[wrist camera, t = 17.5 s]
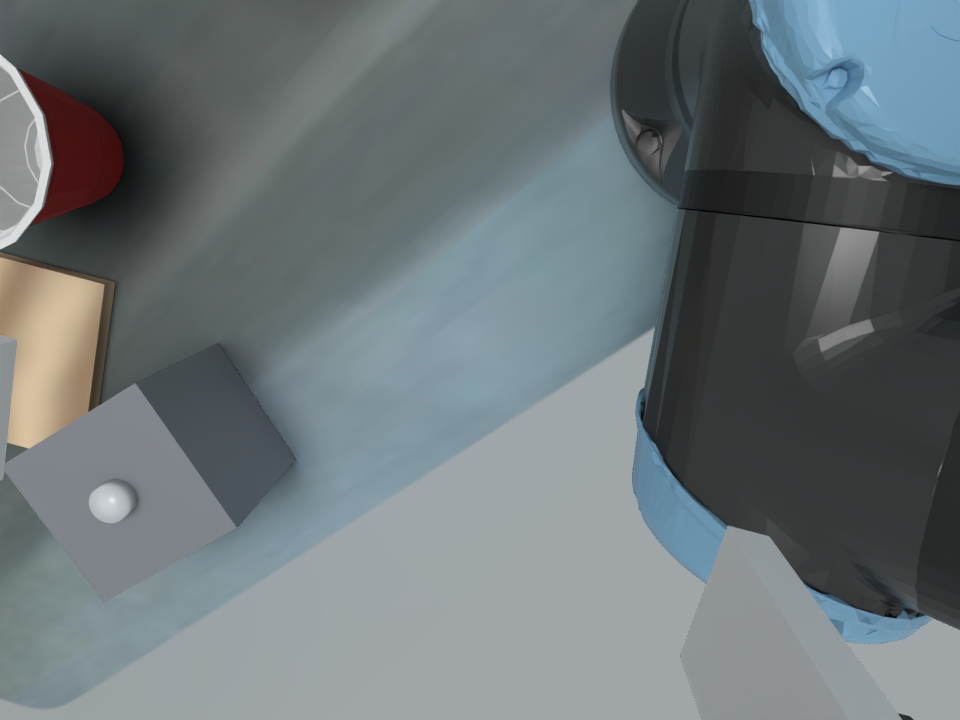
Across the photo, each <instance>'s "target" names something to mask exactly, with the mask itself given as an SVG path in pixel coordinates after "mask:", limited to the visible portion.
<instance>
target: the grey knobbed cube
mask: <svg viewBox="0 0 960 720" xmlns="http://www.w3.org/2000/svg"><path fill="white" fill-rule="evenodd" d="M295 460H296V458H295V457H294V455H293V454H292V452H291V451H290V449H289V448H288V446H287V445H286V443H285V442H284V440H283V439H282V437H281V436H280V434H279V433H278V431H277V430H276V428H275V427H274V425H273V424H272V422H271V421H270V419H269V418H268V417H267V415H266V414H265V412H264V411H263V409H262V408H261V406H260V405H259V403H258V402H257V400H256V399H255V397H254V396H253V394H252V393H251V391H250V390H249V388H248V387H247V385H246V384H245V382H244V381H243V379H242V378H241V376H240V375H239V373H238V372H237V370H236V369H235V367H234V366H233V364H232V363H231V361H230V360H229V358H228V357H227V355H226V354H225V352H224V351H223V349H222V348H221V346H220V345H219V344H216V345H214V346H212V347H209V348H207V349H205V350H203V351H201V352H199V353H197V354H195V355H193V356H191V357H189V358H186V359H184V360H182V361H180V362H178V363H176V364H174V365H172V366H170V367H168V368H166V369H164V370H161V371H159V372H157V373H155V374H153V375H151V376H149V377H147V378H145V379H143V380H141V381H139V382H136V383H135V384H133V385H131V386H130V387H128V388H126V389H125V390H123V391H122V392H120V393H118V394H117V395H115V396H114V397H112V398H110V399H109V400H107V401H105V402H104V403H102V404H101V405H99V406H97V407H96V408H94V409H92V410H91V411H89V412H88V413H86V414H84V415H83V416H81V417H80V418H78V419H76V420H75V421H73V422H71V423H70V424H68V425H67V426H65V427H63V428H62V429H60V430H59V431H57V432H55V433H54V434H52V435H50V436H49V437H47V438H46V439H44V440H42V441H41V442H39V443H37V444H36V445H34V446H33V447H31V448H29V449H28V450H26V451H25V452H23V453H21V454H20V455H18V456H16V457H15V458H13V459H12V460H10V461H8V462H7V463H5V467H4V471H5V472H6V474H7V475H8V476H9V478H10V479H11V480H12V482H13V483H14V484H15V486H16V487H17V488H18V490H19V491H20V492H21V493H22V495H23V496H24V497H25V499H26V500H27V501H28V503H29V504H30V505H31V507H32V508H33V509H34V511H35V512H36V513H37V515H38V516H39V517H40V519H41V520H42V521H43V523H44V524H45V525H46V527H47V528H48V529H49V531H50V532H51V533H52V535H53V536H54V537H55V539H56V540H57V541H58V543H59V544H60V545H61V547H62V548H63V549H64V551H65V552H66V553H67V554H68V556H69V557H70V558H71V560H72V561H73V562H74V564H75V565H76V566H77V568H78V569H79V570H80V572H81V573H82V574H83V576H84V577H85V578H86V580H87V581H88V582H89V584H90V585H91V586H92V588H93V589H94V590H95V592H96V593H97V594H98V596H99V597H100V598H101V600H102V601H103V602H105V601H107V600H109V599H111V598H112V597H114V596H116V595H118V594H120V593H121V592H123V591H125V590H127V589H128V588H130V587H132V586H134V585H136V584H137V583H139V582H141V581H143V580H145V579H146V578H148V577H150V576H152V575H154V574H155V573H157V572H159V571H161V570H162V569H164V568H166V567H168V566H170V565H171V564H173V563H175V562H177V561H179V560H180V559H182V558H184V557H186V556H188V555H189V554H191V553H193V552H195V551H196V550H198V549H200V548H202V547H204V546H205V545H207V544H209V543H211V542H213V541H214V540H216V539H218V538H220V537H222V536H223V535H225V534H227V533H229V532H230V531H232V530H234V529H236V528H237V527H238V526H239V525H240V524H241V523H242V521H243V520H244V519H245V518H246V517H247V516H248V514H249V513H250V512H251V511H252V510H253V509H254V508H255V506H256V505H257V504H258V503H259V502H260V501H261V499H262V498H263V497H264V496H265V495H266V494H267V493H268V491H269V490H270V489H271V488H272V487H273V486H274V484H275V483H276V482H277V481H278V480H279V479H280V478H281V476H282V475H283V474H284V473H285V472H286V471H287V469H288V468H289V467H290V466H291V465H292V464H293V462H294V461H295Z"/></svg>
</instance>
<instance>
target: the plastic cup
mask: <svg viewBox="0 0 960 720" xmlns="http://www.w3.org/2000/svg"><path fill="white" fill-rule="evenodd" d="M123 167H124V155H123V148H122V143H121V141H120V139H119V137H118V135H117V133H116V131H115V129H114V128H113V126H112V125H111V124H110V123H109V122H108V121H107V120H105V119H104V118H103V117H102V116H101V115H100V114H99V113H98V112H97V111H95V110H94V109H93V108H91V107H89V106H87V105H85V104H83V103H81V102H79V101H77V100H75V99H73V98H72V97H71V96H70V95H69V94H67V93H65V92H63V91H61V90H59V89H57V88H55V87H53V86H51V85H49V84H47V83H45V82H43V81H41V80H39V79H37V78H35V77H33V76H31V75H29V74H27V73H25V72H24V71H22V70H20V69H18V68H16V67H14V66H13V65H12V64H11V63H10V62H9V61H8V60H6V59H5V58H4V57H3V56H2V55H1V54H0V249H2V248H4V247H6V246H8V245H10V244H12V243H14V242H16V241H17V240H18V239H19V238H20V237H21V236H22V234H23V233H24V232H25V230H26V229H27V228H28V227H29V226H31V225H34V224H37V223H40V222H43V221H45V220H48V219H51V218H54V217H57V216H60V215H63V214H66V213H68V212H70V211H72V210H74V209H77V208H80V207H83V206H87V205H90V204H92V203H94V202H96V201H98V200H100V199H102V198H104V197H106V195H108V194H110V193H111V191H112V190H113V189H114V187H115V186H116V185H117V184H118V182H119V181H120V179H121V175H122V171H123Z"/></svg>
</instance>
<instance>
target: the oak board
mask: <svg viewBox="0 0 960 720" xmlns="http://www.w3.org/2000/svg"><path fill="white" fill-rule="evenodd" d="M114 289H115V282H113V281H109V280H105V279H101V278H97V277H93V276H90V275H86V274H82V273H78V272H74V271H71V270H67V269H63V268H59V267H55V266H51V265H48V264H44V263H40V262H36V261H32V260H28V259H25V258H21V257H17V256H13V255H9V254H6V253H2V252H0V335H1V336H5V337H9V338H13V339H17V349H16V359H15V369H14V379H13V388H12V398H11V408H10V418H9V428H8V437H7V443H10V444H14V445H18V446H22V447H26V448H31V447H33V446H34V445H36V444H37V443H39V442H41V441H42V440H44V439H46V438H47V437H49V436H50V435H52V434H54V433H55V432H57V431H59V430H60V429H62V428H63V427H65V426H67V425H68V424H70V423H71V422H73V421H75V420H76V419H78V418H80V417H81V416H83V415H84V414H86V413H88V412H89V411H91V410H92V409H94V408H96V407H97V406H99V402H100V394H101V387H102V379H103V372H104V364H105V357H106V349H107V342H108V334H109V327H110V319H111V312H112V304H113V297H114Z"/></svg>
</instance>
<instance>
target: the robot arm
mask: <svg viewBox="0 0 960 720" xmlns="http://www.w3.org/2000/svg"><path fill="white" fill-rule="evenodd" d="M610 92H611V106H612V114H613V119H614V123H615V127H616V131H617V134H618V137H619V139H620V142H621V144H622V147H623V149H624V151H625V153H626V155H627V157H628V158H629V160H630V162H631V163H632V165H633V166H634V168H635V169H636V170H637V172H638V173H639V174H640V176H641V177H642V178H643V179H644V180H645V181H646V182H647V183H648V184H649V185H650V186H651V187H652V188H653V189H654V190H655V191H656V192H658V193H659V194H660V195H661V196H663V197H664V198H666V199H667V200H669V201H670V202H672V203H674V204H676V205H677V206H678V208H679V209H676V214H675V219H674V225H673V231H672V236H671V242H670V247H669V253H668V258H667V264H666V270H665V275H664V281H663V286H662V292H661V298H660V303H659V309H658V314H657V320H656V325H655V331H654V337H653V342H652V348H651V353H650V359H649V365H648V370H647V376H646V381H645V387H644V388H643V389H642V390H640V392H639V395H638V399H637V403H636V412H635V413H636V421H637V428H638V433H637V440H636V448H635V456H634V463H633V472H632V483H633V491H634V494H635V496H636V498H637V501H638V506H639V510H640V511H641V514H642V517H643V519H644V521H645V523H646V524H647V526H648V527H649V529H650V530H651V532H652V533H653V535H654V536H655V537H656V539H657V540H658V541H659V542H660V544H661V545H662V546H663V547H664V548H665V549H666V550H667V551H668V552H669V553H670V554H671V555H672V556H673V557H674V558H675V559H676V560H677V561H678V562H679V563H680V564H681V565H683V566H684V567H685V568H686V569H687V570H689V571H690V572H691V573H692V574H693V575H695V576H696V577H697V578H699V579H700V580H702V581H703V582H704V583H706V586H705V589H704V592H703V594H702V597H701V600H700V602H699V605H698V608H697V611H696V614H695V616H694V619H693V622H692V624H691V627H690V630H689V633H688V635H687V638H686V641H685V643H684V646H683V649H682V652H681V654H680V658H681V661H682V664H683V667H684V670H685V672H686V675H687V678H688V681H689V684H690V687H691V690H692V693H693V696H694V699H695V702H696V705H697V707H698V711H699V714H700V716H701V719H702V720H913V719H912V718H911V717H910V716H906V715H902V714H898V713H897V712H896V710H895V709H894V708H893V706H892V705H891V704H890V702H889V701H888V700H887V698H886V697H885V695H884V694H883V692H882V691H881V690H880V688H879V687H878V686H877V684H876V683H875V681H874V680H873V679H872V677H871V676H870V675H869V673H868V672H867V670H866V669H865V668H864V666H863V665H862V664H861V662H860V661H859V659H858V658H857V657H856V655H855V654H854V653H853V651H852V650H851V649H850V647H849V646H848V644H847V643H846V642H850V643H861V644H883V643H888V642H893V641H897V640H902V639H905V638H907V637H908V636H910V635H912V634H913V633H915V632H916V631H917V630H918V629H919V628H920V627H922V626H923V625H925V624H927V623H928V622H929V621H930V620H931V619H932V618H934V619H936V620H938V621H941V622H943V623H945V624H948V625H950V626H952V627H954V628H957V629H959V630H960V0H638V2H637V4H636V5H635V7H634V9H633V10H632V12H631V14H630V16H629V17H628V19H627V22H626V24H625V26H624V28H623V30H622V33H621V35H620V38H619V41H618V44H617V47H616V51H615V55H614V59H613V65H612V72H611V89H610ZM683 209H685V210H683ZM16 349H17V339H13V338H9V337H5V336H1V335H0V480H2V479H3V476H4V467H5V457H6V447H7V437H8V428H9V418H10V408H11V398H12V388H13V379H14V369H15V359H16Z"/></svg>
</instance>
